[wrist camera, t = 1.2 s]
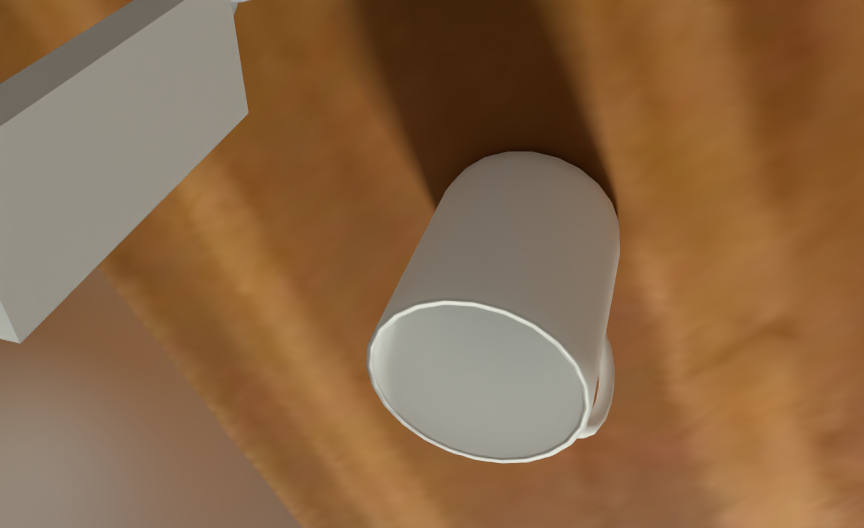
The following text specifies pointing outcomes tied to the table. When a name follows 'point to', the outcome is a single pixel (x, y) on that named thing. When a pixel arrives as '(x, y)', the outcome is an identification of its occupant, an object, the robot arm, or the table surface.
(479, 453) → the mug
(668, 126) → the table surface
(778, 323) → the table surface
